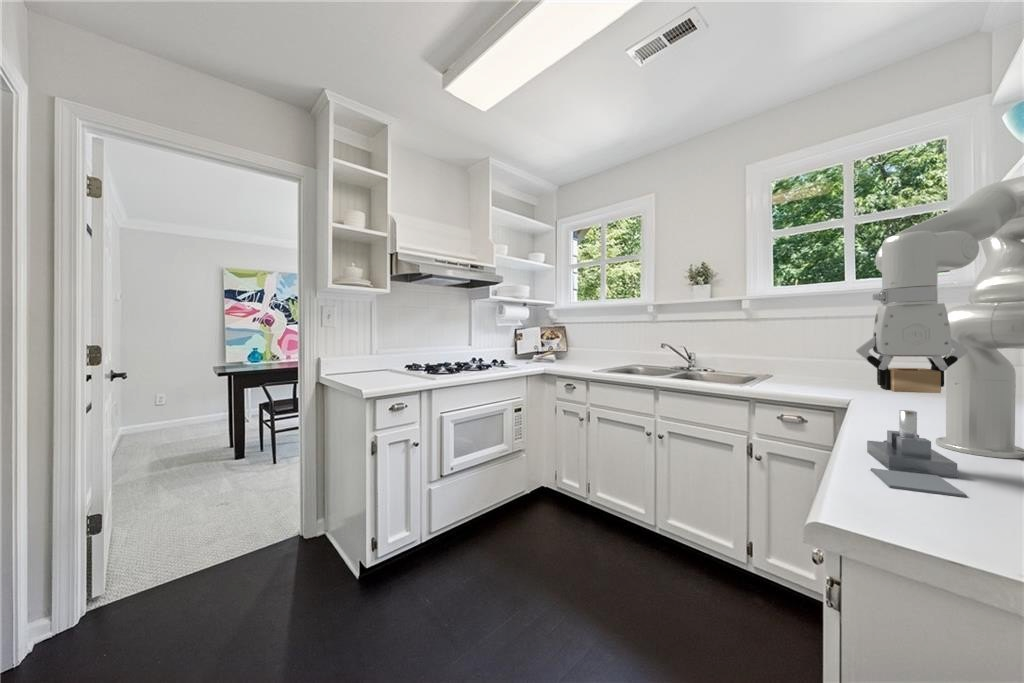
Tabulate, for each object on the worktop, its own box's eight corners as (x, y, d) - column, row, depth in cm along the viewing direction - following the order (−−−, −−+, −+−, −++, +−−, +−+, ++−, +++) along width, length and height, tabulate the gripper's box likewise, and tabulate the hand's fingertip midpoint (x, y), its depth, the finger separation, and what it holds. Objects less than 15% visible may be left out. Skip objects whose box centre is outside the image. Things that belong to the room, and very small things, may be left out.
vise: (859, 445, 88) (859, 400, 87) (914, 450, 83) (914, 403, 83) (889, 470, 73) (889, 415, 72) (957, 477, 68) (957, 419, 68)
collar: (881, 386, 80) (881, 367, 80) (924, 388, 77) (924, 368, 77) (894, 391, 74) (893, 371, 74) (940, 393, 71) (940, 371, 71)
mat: (870, 470, 73) (870, 468, 73) (937, 477, 68) (937, 475, 68) (889, 487, 65) (889, 485, 65) (966, 497, 61) (966, 494, 61)
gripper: (856, 299, 76) (857, 391, 76) (985, 293, 68) (985, 395, 68) (845, 301, 82) (846, 385, 83) (961, 295, 74) (962, 388, 75)
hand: (909, 389), depth 76 cm, fingers closed on collar, 6 cm apart
